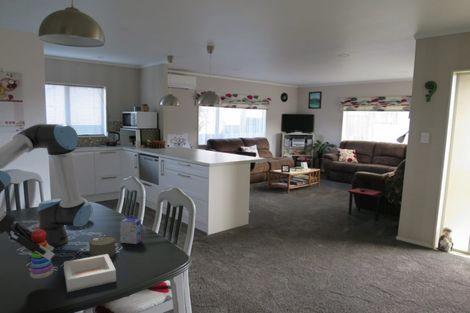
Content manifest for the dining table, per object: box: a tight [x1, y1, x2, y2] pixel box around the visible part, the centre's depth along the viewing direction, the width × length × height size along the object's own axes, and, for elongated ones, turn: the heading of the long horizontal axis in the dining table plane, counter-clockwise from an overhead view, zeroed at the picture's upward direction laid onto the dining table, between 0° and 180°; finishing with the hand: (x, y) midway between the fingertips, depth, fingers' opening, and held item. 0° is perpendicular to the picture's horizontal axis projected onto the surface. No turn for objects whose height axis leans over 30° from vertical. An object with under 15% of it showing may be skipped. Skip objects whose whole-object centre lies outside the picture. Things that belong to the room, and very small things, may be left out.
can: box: [89, 235, 116, 257], centre depth 163 cm, size 12×12×7 cm
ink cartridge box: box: [120, 214, 142, 245], centre depth 178 cm, size 10×6×14 cm, turn 78°
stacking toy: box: [29, 228, 54, 279], centre depth 129 cm, size 8×8×19 cm
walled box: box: [63, 254, 117, 293], centre depth 139 cm, size 18×18×5 cm
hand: (51, 253), depth 131 cm, fingers closed on stacking toy, 6 cm apart
